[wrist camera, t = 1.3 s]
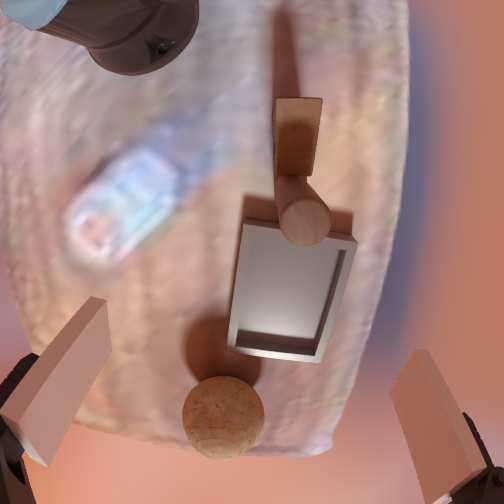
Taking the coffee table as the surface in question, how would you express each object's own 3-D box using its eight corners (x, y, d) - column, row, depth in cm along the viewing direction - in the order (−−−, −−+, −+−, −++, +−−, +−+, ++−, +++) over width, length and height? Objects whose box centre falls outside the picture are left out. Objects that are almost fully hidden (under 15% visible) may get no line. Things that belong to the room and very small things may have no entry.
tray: (245, 217, 39) (243, 224, 36) (351, 235, 39) (357, 242, 36) (228, 339, 46) (225, 351, 43) (317, 350, 46) (320, 362, 43)
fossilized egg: (263, 410, 51) (261, 478, 37) (195, 405, 52) (179, 470, 38) (266, 361, 47) (265, 436, 33) (187, 356, 47) (164, 427, 33)
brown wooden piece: (302, 112, 34) (333, 90, 17) (303, 198, 38) (333, 250, 21) (271, 112, 34) (275, 88, 17) (273, 199, 38) (279, 251, 21)
